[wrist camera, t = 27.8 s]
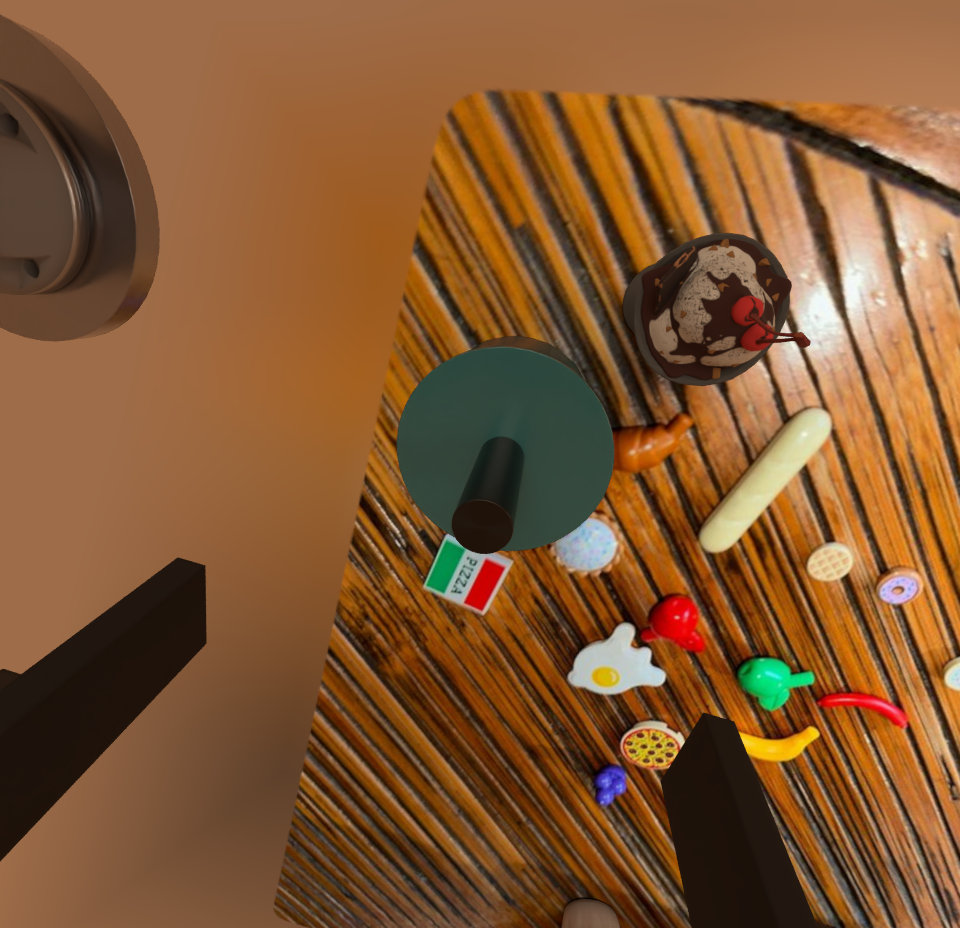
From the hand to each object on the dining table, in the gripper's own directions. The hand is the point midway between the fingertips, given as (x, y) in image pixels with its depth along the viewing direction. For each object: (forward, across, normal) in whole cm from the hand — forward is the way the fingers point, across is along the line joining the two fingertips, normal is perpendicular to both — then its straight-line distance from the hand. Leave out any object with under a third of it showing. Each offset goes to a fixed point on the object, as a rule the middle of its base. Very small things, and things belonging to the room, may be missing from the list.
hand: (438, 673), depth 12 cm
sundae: (+25, +8, +10) cm, 28 cm away
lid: (+16, 0, 0) cm, 16 cm away
